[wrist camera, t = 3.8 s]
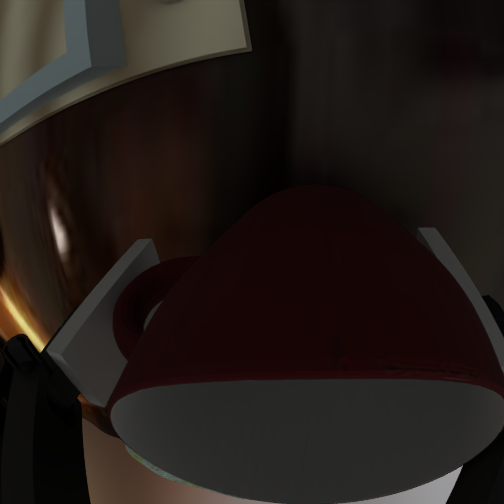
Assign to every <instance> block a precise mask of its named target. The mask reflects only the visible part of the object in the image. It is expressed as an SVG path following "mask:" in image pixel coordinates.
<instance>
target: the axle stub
mask: <svg viewBox="0 0 504 504" xmlns="http://www.w3.org/2000/svg"><path fill="white" fill-rule="evenodd" d="M155 1H157V2H160V3H162V4H166V5H172V4H177V3H180V2H182V1H184V0H155Z"/></svg>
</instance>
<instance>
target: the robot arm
mask: <svg viewBox="0 0 504 504" xmlns="http://www.w3.org/2000/svg"><path fill="white" fill-rule="evenodd" d="M416 239H417V240H418V241H419V242H420V243H421V244H423V245H424V246H425V247H426V248H427V249H428V250H429V251H430V252H431V253H432V254H433V255H434V256H435V257H436V258H437V259H438V260H439V261H440V262H441V263H442V264H443V265H444V266H445V267H446V268H447V269H448V270H449V272H450V273H451V274H452V275H453V276H454V278H455V279H456V280H457V282H458V283H459V284H460V286H461V287H462V289H463V290H464V292H465V293H466V295H467V296H468V298H469V299H470V301H471V302H472V304H473V306H474V308H475V310H476V312H477V313H478V315H479V317H480V319H481V321H482V323H483V325H484V327H485V330H486V332H487V334H488V336H489V338H490V340H491V343H492V345H493V348H494V350H495V353H496V355H497V358H498V360H499V363H500V366H501V369H502V371H503V374H504V312H503V310H502V308H501V307H500V305H499V304H498V303H497V302H496V301H495V300H494V299H493V298H491V297H490V296H489V295H486V296H481V295H480V293H479V292H478V290H477V288H476V287H475V285H474V283H473V282H472V280H471V279H470V277H469V276H468V274H467V272H466V271H465V269H464V268H463V266H462V265H461V263H460V262H459V260H458V259H457V257H456V256H455V255H454V253H453V252H452V250H451V249H450V247H449V246H448V245H447V243H446V242H445V241H444V239H443V238H442V236H441V235H440V234H439V232H438V231H437V230H436V228H418V231H417V238H416ZM159 263H160V260H159V257H158V254H157V251H156V248H155V245H154V242H153V239H152V238H151V239H138V240H137V241H136V242H135V243H134V244H133V245H132V246H131V247H130V248H129V249H128V251H127V252H126V253H125V254H124V255H123V256H122V257H121V258H120V259H119V260H118V262H117V263H116V264H115V265H114V266H113V267H112V268H111V269H110V271H109V272H108V273H107V274H106V275H105V276H104V278H103V279H102V280H101V281H100V282H99V283H98V285H97V286H96V287H95V288H94V289H93V290H92V292H91V293H90V294H89V295H88V296H87V298H86V299H85V300H84V301H83V302H82V303H81V304H80V305H78V306H77V307H76V308H75V309H74V310H73V311H72V312H71V314H70V315H69V316H68V319H66V320H65V321H64V323H63V324H62V327H61V326H60V328H59V329H58V330H57V332H56V333H55V334H54V335H53V337H52V338H51V339H50V341H49V342H48V344H47V345H46V346H45V348H44V349H43V350H42V352H41V353H39V352H38V350H37V349H36V348H35V346H34V345H33V344H32V342H31V341H30V339H29V338H28V336H27V335H25V334H18V335H16V336H14V337H12V338H11V339H10V340H8V341H7V343H6V344H5V345H4V347H3V349H2V351H1V352H2V353H3V354H2V355H1V354H0V504H91V503H90V497H89V491H88V484H87V477H86V469H85V459H84V448H83V435H82V434H83V433H82V407H81V402H80V401H79V400H78V399H77V397H78V396H79V394H80V393H81V394H82V395H83V396H84V397H85V398H86V399H87V401H88V402H90V403H93V404H96V405H99V406H102V407H105V405H106V404H107V402H108V400H109V398H110V396H111V394H112V392H113V390H114V388H115V386H116V384H117V382H118V380H119V378H120V376H121V374H122V372H123V370H124V368H125V366H126V364H127V362H128V361H127V360H126V359H125V357H124V356H123V355H122V353H121V352H120V350H119V348H118V346H117V344H116V341H115V338H114V334H113V324H112V323H113V311H114V307H115V304H116V302H117V300H118V298H119V296H120V295H121V293H122V292H123V291H124V289H125V288H126V287H127V285H128V284H129V283H130V282H131V281H132V280H133V279H134V278H135V277H137V276H138V275H139V274H141V273H142V272H143V271H145V270H147V269H148V268H150V267H152V266H154V265H157V264H159ZM162 301H163V300H162ZM162 301H161V302H160V303H158V304H157V305H156V306H155V307H154V308H153V309H152V311H151V312H150V313H149V315H148V317H147V319H146V321H145V324H144V330H145V328H146V327H147V325H148V323H149V321H150V320H151V318H152V316H153V314H154V313H155V311H156V310H157V308H158V307H159V305H160V304H161V303H162ZM446 504H504V429H503V430H502V432H501V433H500V434H499V436H498V437H497V438H496V439H495V440H494V441H493V442H492V443H491V444H490V445H489V446H488V447H487V448H486V449H485V450H484V451H482V452H481V453H480V454H479V455H477V456H476V457H475V458H473V459H472V460H470V461H469V462H467V463H466V464H464V465H463V467H462V469H461V472H460V474H459V476H458V479H457V481H456V483H455V486H454V488H453V490H452V492H451V494H450V496H449V498H448V500H447V502H446Z"/></svg>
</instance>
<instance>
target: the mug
mask: <svg viewBox="0 0 504 504" xmlns="http://www.w3.org/2000/svg"><path fill="white" fill-rule="evenodd" d="M162 300H163V301H162ZM161 301H162V303H161V304H160V305H159V307H158V308H157V310H156V311H155V313H154V314H153V316H152V318H151V320H150V321H149V323H148V325H147V327H146V328H145V330H144V324H145V321H146V319H147V317H148V315H149V313H150V312H151V311H152V309H153V308H154V307H155V306H156V305H157V304H158V303H160V302H161ZM112 324H113V334H114V338H115V341H116V344H117V346H118V348H119V350H120V352H121V353H122V355H123V356H124V357H125V359H126V360H127V361H128V362H127V364H126V366H125V368H124V370H123V372H122V374H121V376H120V378H119V380H118V382H117V384H116V386H115V388H114V391H113V393H112V395H111V398H110V400H109V403H108V406H107V416H108V419H109V422H110V424H111V426H112V428H113V430H114V431H115V433H116V434H117V436H118V437H119V438H120V439H121V440H122V441H123V442H124V443H125V444H126V445H127V446H128V447H129V448H130V449H132V450H133V451H134V452H135V453H136V454H138V455H139V456H141V457H142V458H143V459H145V460H146V461H148V462H150V463H151V464H153V465H154V466H156V467H158V468H160V469H161V470H163V471H165V472H167V473H169V474H171V475H173V476H176V477H178V478H180V479H182V480H185V481H187V482H190V483H192V484H195V485H198V486H200V487H203V488H206V489H209V490H213V491H216V492H220V493H223V494H227V495H231V496H236V497H240V498H245V499H251V500H257V501H264V502H273V503H282V504H338V503H348V502H356V501H363V500H369V499H374V498H379V497H383V496H388V495H392V494H396V493H399V492H403V491H406V490H409V489H412V488H415V487H418V486H421V485H423V484H426V483H429V482H431V481H433V480H435V479H438V478H440V477H442V476H444V475H446V474H448V473H450V472H452V471H454V470H456V469H457V468H459V467H461V466H462V465H464V464H466V463H467V462H469V461H470V460H472V459H473V458H475V457H476V456H477V455H479V454H480V453H481V452H482V451H484V450H485V449H486V448H487V447H488V446H489V445H490V444H491V443H492V442H493V441H494V440H495V439H496V438H497V437H498V436H499V434H500V433H501V432H502V430H503V429H504V374H503V371H502V369H501V366H500V363H499V360H498V358H497V355H496V353H495V350H494V348H493V345H492V343H491V340H490V338H489V336H488V334H487V332H486V330H485V327H484V325H483V323H482V321H481V319H480V317H479V315H478V313H477V312H476V310H475V308H474V306H473V304H472V302H471V301H470V299H469V298H468V296H467V295H466V293H465V292H464V290H463V289H462V287H461V286H460V284H459V283H458V282H457V280H456V279H455V278H454V276H453V275H452V274H451V273H450V272H449V270H448V269H447V268H446V267H445V266H444V265H443V264H442V263H441V262H440V261H439V260H438V259H437V258H436V257H435V256H434V255H433V254H432V253H431V252H430V251H429V250H428V249H427V248H426V247H425V246H424V245H423V244H421V243H420V242H419V241H418V240H417V239H416V238H415V237H414V236H413V235H411V234H410V233H409V232H408V231H407V230H406V229H405V228H403V227H402V226H401V225H400V224H399V223H398V222H397V221H395V220H394V219H393V218H392V217H391V216H389V215H388V214H387V213H386V212H385V211H383V210H382V209H381V208H380V207H378V206H377V205H376V204H374V203H373V202H371V201H370V200H368V199H367V198H365V197H363V196H361V195H359V194H357V193H355V192H353V191H350V190H347V189H344V188H340V187H336V186H331V185H320V184H311V185H301V186H295V187H292V188H288V189H285V190H282V191H279V192H277V193H275V194H272V195H270V196H268V197H267V198H265V199H263V200H262V201H260V202H259V203H257V204H256V205H255V206H253V207H252V208H251V209H250V210H248V211H247V212H246V213H245V214H244V215H243V216H242V217H241V218H240V219H239V220H238V221H237V222H236V223H235V224H234V225H233V226H231V227H230V228H229V229H228V230H227V231H226V232H225V233H224V234H223V235H222V236H221V237H220V238H219V239H218V240H217V241H216V242H215V243H214V244H213V245H212V246H211V247H210V248H209V249H208V250H207V251H206V252H205V253H204V254H203V255H202V256H194V257H183V258H176V259H172V260H168V261H165V262H162V263H159V264H157V265H154V266H152V267H150V268H148V269H147V270H145V271H143V272H142V273H141V274H139V275H138V276H137V277H135V278H134V279H133V280H132V281H131V282H130V283H129V284H128V285H127V287H126V288H125V289H124V291H123V292H122V293H121V295H120V296H119V298H118V300H117V302H116V304H115V307H114V311H113V323H112Z"/></svg>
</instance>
